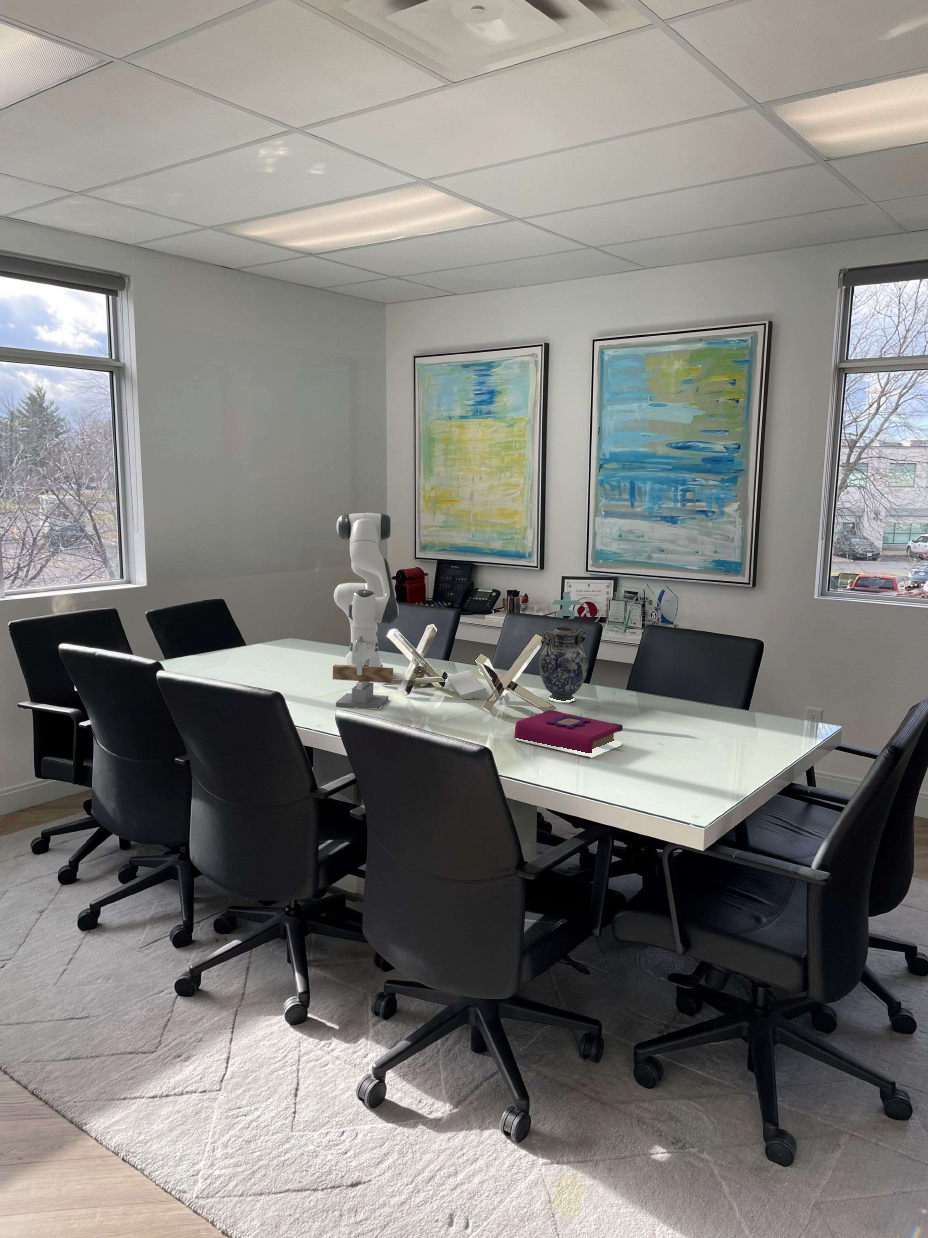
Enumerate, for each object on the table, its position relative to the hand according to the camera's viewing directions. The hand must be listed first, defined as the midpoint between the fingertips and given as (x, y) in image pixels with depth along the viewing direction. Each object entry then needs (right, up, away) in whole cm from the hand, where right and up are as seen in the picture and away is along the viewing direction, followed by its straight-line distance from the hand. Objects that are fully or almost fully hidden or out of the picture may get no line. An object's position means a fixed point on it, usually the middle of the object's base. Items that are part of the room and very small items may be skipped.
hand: (363, 672), depth 328 cm
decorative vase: (+75, -12, +17) cm, 77 cm away
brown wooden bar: (0, -3, 0) cm, 3 cm away
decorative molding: (+38, -9, +30) cm, 49 cm away
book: (+70, -21, -42) cm, 84 cm away
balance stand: (0, -12, +2) cm, 12 cm away
